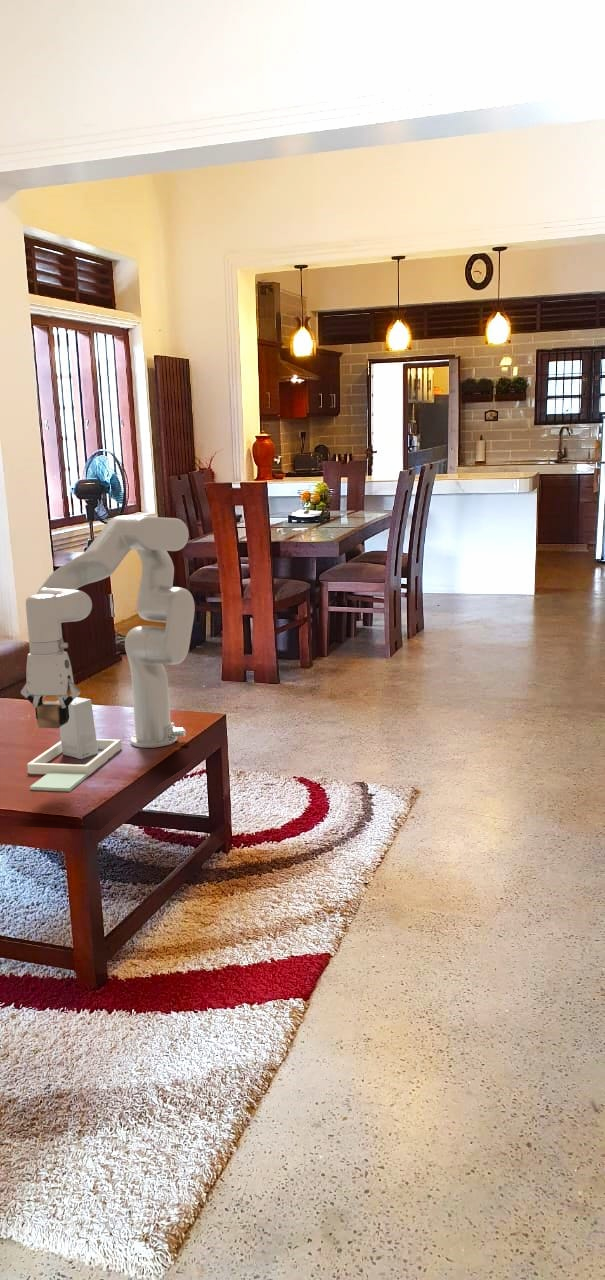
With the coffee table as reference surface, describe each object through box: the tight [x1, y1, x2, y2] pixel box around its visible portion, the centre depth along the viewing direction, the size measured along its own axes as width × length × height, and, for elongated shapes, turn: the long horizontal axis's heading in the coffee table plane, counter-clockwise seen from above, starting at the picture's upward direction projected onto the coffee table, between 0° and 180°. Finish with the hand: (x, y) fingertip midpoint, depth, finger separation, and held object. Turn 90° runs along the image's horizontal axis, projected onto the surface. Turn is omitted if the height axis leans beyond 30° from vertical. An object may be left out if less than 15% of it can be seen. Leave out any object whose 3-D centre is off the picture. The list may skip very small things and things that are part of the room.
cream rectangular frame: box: [26, 738, 122, 777], centre depth 245 cm, size 16×21×2 cm
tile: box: [29, 772, 89, 792], centre depth 229 cm, size 10×10×1 cm
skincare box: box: [55, 696, 99, 760], centre depth 248 cm, size 8×6×15 cm
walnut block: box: [37, 701, 66, 729], centre depth 225 cm, size 5×5×5 cm
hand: (53, 722), depth 226 cm, fingers closed on walnut block, 5 cm apart
